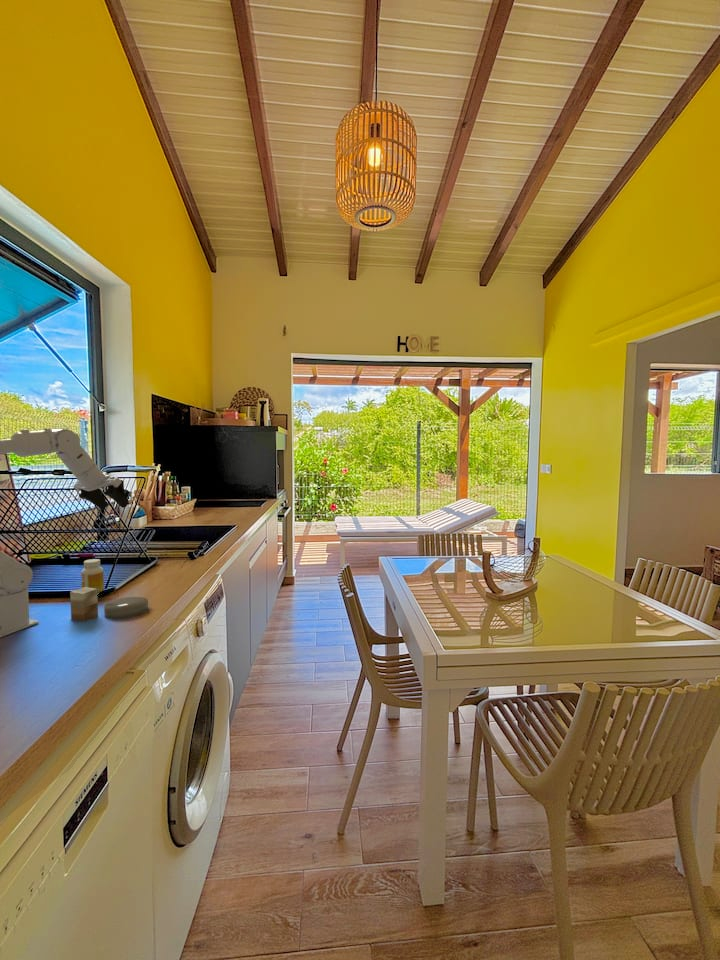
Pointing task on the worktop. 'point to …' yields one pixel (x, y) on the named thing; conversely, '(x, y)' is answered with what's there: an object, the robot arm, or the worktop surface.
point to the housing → (84, 604)
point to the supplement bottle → (93, 575)
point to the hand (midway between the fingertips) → (115, 506)
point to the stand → (126, 607)
